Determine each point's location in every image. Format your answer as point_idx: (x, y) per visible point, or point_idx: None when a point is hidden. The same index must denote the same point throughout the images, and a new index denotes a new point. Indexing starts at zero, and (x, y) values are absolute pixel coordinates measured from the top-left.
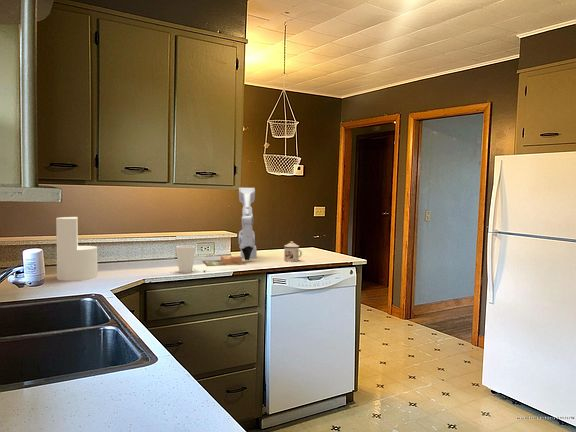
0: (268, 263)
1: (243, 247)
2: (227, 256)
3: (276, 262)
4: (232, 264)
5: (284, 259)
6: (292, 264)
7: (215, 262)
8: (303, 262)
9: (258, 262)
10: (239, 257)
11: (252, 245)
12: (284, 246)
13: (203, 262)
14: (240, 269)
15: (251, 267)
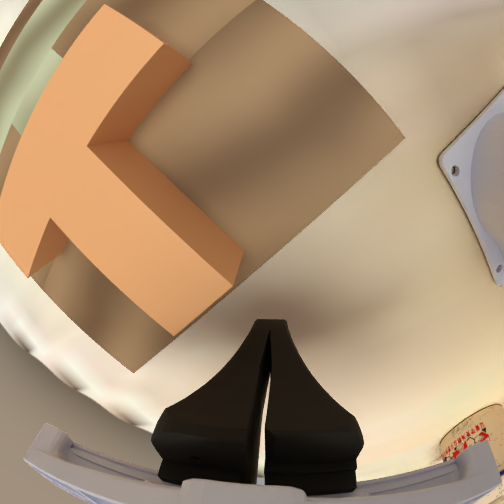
0: (360, 415)
1: (106, 469)
2: (92, 123)
3: (412, 422)
4: (56, 277)
5: (473, 420)
6: (359, 473)
7: (45, 69)
8: (423, 467)
9: (390, 353)
10: (150, 312)
11: (438, 479)
12: (500, 475)
13: (22, 11)
14: (56, 351)
15: (142, 388)
